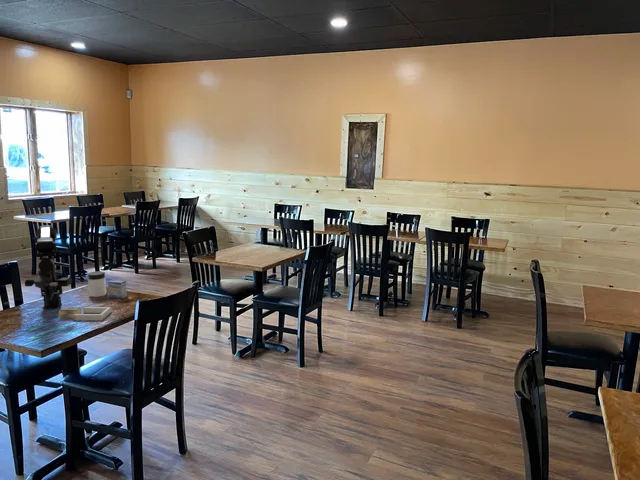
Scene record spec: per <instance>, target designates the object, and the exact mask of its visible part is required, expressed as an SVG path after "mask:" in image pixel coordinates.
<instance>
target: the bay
mask: <svg viewBox="0 0 640 480" xmlns="http://www.w3.org/2000/svg"><path fill="white" fill-rule="evenodd" d="M82 310H83V313H81V314H74V318H73V321H103V320H104V319H105V318H107V316H108V315H109V314H110V313H111V312H112V307H111V306H102V307H101V306H87V307H86V306H85V307H83V308H82Z"/></svg>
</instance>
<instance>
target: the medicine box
mask: <svg viewBox="0 0 640 480" xmlns="http://www.w3.org/2000/svg"><path fill="white" fill-rule="evenodd" d="M107 285H108V286H107V287H108V298H111V299H124V298H126V297H127V296H128V293H127V291H128V290H127V281H126V280H117V279H112V280H109V281H108V284H107Z"/></svg>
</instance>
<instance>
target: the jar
mask: <svg viewBox="0 0 640 480" xmlns="http://www.w3.org/2000/svg"><path fill="white" fill-rule="evenodd" d="M106 278H107V277H106V273H105V272H104V271H101V270H100V271H91V272H89V273H87V285H88V286H87V287H88V295H89V297H94V298H98V297H103V296H105V295H106V294H107V281H106Z"/></svg>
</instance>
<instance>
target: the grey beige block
mask: <svg viewBox="0 0 640 480" xmlns="http://www.w3.org/2000/svg"><path fill="white" fill-rule="evenodd" d="M74 314H82V307H81V306H62V307H61V308H60V309H59V310H58V318H59V319H74Z"/></svg>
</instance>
